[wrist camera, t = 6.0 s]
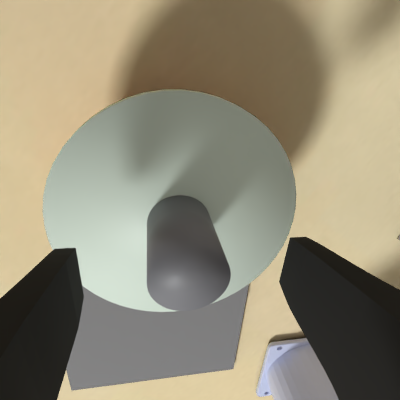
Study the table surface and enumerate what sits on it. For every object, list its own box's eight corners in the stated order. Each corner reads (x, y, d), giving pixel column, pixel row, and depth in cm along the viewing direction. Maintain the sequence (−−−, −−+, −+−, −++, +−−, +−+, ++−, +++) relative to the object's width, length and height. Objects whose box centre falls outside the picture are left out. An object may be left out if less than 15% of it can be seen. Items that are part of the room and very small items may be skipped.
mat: (250, 263, 21) (252, 267, 20) (232, 364, 26) (233, 369, 26) (46, 276, 18) (44, 281, 18) (72, 385, 24) (71, 390, 23)
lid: (313, 97, 12) (396, 118, 8) (265, 293, 17) (302, 365, 13) (24, 79, 10) (-58, 94, 6) (67, 307, 15) (39, 398, 11)
